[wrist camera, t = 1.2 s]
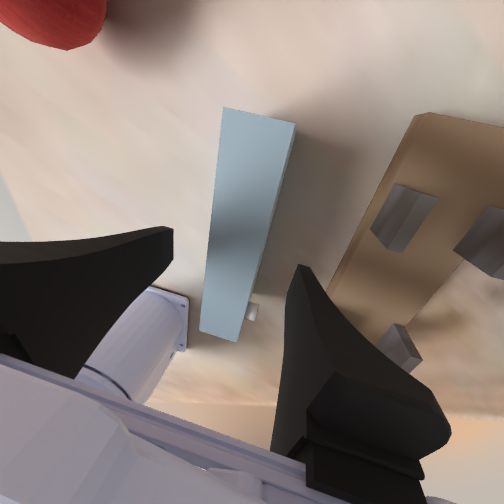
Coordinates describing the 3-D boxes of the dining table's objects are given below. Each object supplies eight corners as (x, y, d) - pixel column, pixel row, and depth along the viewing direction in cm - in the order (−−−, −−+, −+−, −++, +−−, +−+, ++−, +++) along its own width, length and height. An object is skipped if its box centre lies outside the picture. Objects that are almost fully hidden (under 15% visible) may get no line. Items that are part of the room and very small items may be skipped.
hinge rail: (362, 356, 21) (377, 405, 17) (302, 338, 21) (303, 381, 17) (534, 141, 11) (665, 138, 7) (414, 115, 11) (474, 100, 8)
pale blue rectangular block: (260, 294, 20) (247, 346, 15) (224, 283, 20) (198, 330, 15) (308, 134, 13) (315, 128, 8) (252, 121, 13) (223, 106, 8)
